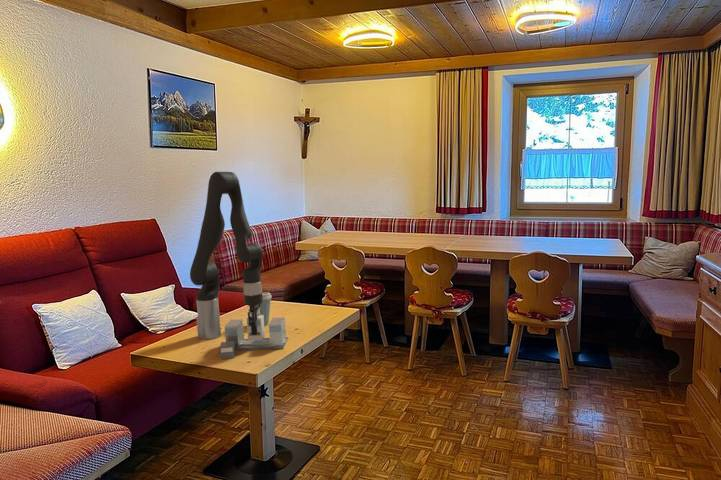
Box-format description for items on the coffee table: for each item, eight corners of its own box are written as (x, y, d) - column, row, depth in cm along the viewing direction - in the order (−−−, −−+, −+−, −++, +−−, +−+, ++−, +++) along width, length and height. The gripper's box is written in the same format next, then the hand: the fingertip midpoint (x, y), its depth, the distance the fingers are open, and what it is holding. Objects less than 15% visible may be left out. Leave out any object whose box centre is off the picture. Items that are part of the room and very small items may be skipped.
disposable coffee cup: (246, 324, 255) (243, 294, 253) (265, 319, 263) (263, 289, 261) (258, 328, 248) (256, 297, 246) (278, 323, 255) (275, 292, 253)
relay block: (220, 359, 209) (219, 347, 208) (222, 354, 215) (221, 342, 215) (234, 358, 210) (233, 345, 209) (235, 353, 216) (234, 341, 215)
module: (248, 340, 221) (246, 319, 220) (250, 336, 227) (249, 315, 225) (262, 339, 221) (260, 318, 220) (264, 335, 226) (263, 314, 225)
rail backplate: (224, 351, 219) (222, 327, 217) (232, 341, 230) (230, 319, 229) (283, 348, 218) (281, 324, 217) (287, 339, 230) (286, 316, 229)
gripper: (247, 288, 229) (250, 327, 231) (239, 297, 214) (242, 338, 217) (265, 288, 228) (268, 326, 231) (258, 296, 214) (261, 337, 216)
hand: (255, 332), depth 224 cm, fingers closed on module, 5 cm apart
